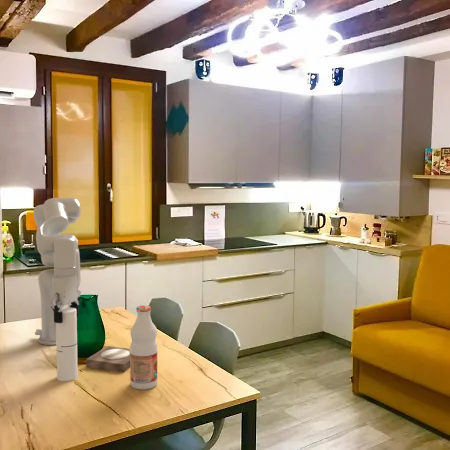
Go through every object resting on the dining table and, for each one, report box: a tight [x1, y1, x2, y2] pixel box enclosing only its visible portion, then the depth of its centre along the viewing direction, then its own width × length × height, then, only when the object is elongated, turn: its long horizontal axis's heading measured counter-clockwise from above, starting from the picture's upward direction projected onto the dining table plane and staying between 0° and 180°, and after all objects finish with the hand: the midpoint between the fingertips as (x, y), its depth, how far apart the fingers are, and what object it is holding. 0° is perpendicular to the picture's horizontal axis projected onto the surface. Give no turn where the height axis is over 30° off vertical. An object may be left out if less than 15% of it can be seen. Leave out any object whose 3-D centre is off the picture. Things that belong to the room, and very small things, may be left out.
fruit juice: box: [129, 304, 158, 391], centre depth 184 cm, size 9×9×28 cm
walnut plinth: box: [85, 345, 130, 373], centre depth 207 cm, size 16×16×3 cm
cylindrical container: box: [55, 306, 79, 382], centre depth 190 cm, size 7×7×25 cm
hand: (66, 319), depth 189 cm, fingers open, 9 cm apart
